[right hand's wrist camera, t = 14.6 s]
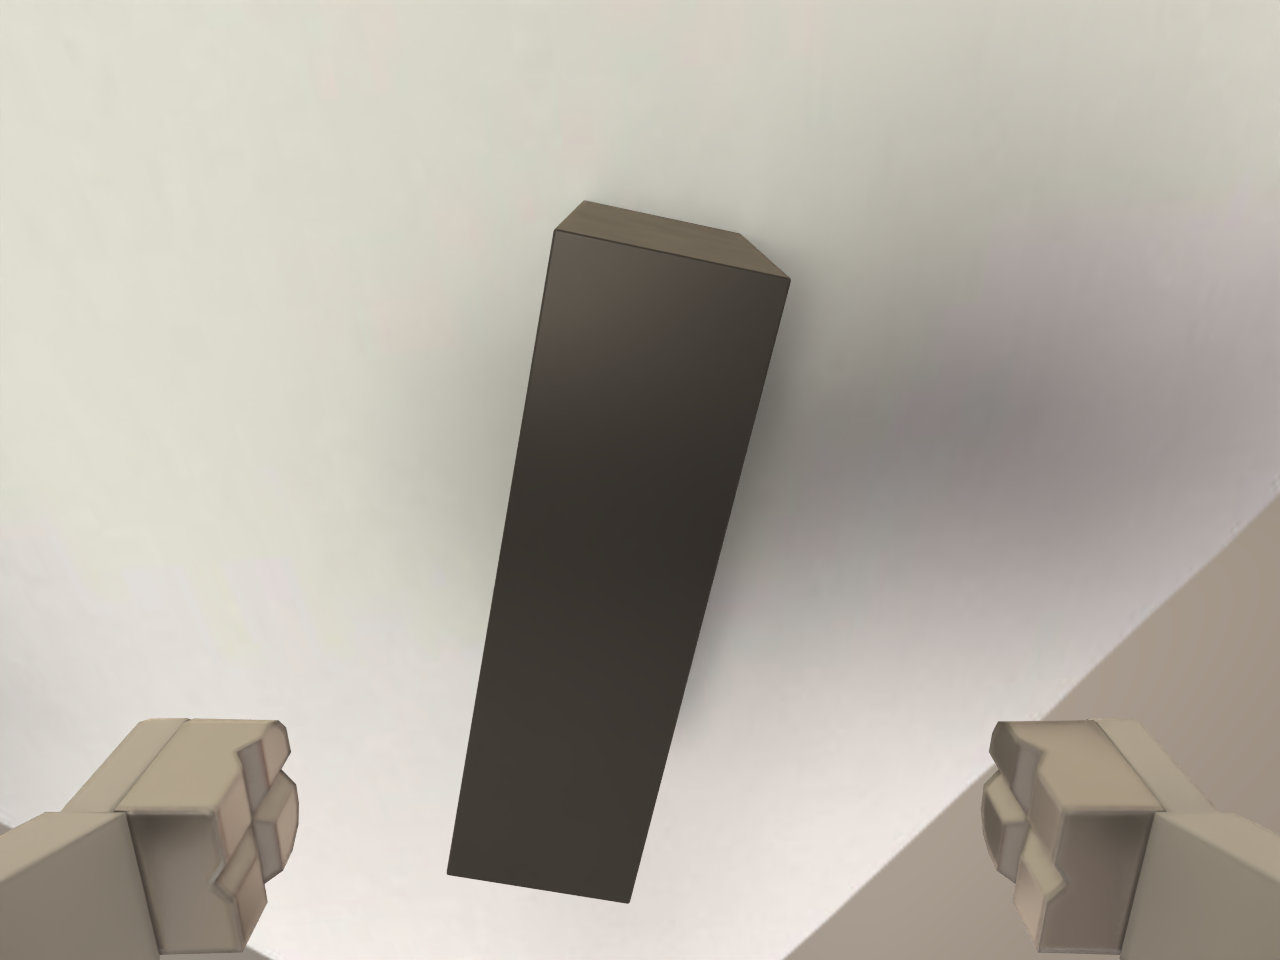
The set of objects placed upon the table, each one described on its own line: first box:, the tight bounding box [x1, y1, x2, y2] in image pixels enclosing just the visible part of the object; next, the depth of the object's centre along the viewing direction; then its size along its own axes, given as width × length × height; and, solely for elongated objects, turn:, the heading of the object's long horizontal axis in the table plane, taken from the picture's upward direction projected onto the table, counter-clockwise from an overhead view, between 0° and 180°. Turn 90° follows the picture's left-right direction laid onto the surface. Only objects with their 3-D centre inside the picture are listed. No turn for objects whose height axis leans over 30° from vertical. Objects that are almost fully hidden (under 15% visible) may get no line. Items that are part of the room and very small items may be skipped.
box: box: [447, 201, 791, 904], centre depth 31 cm, size 20×6×12 cm, turn 168°
